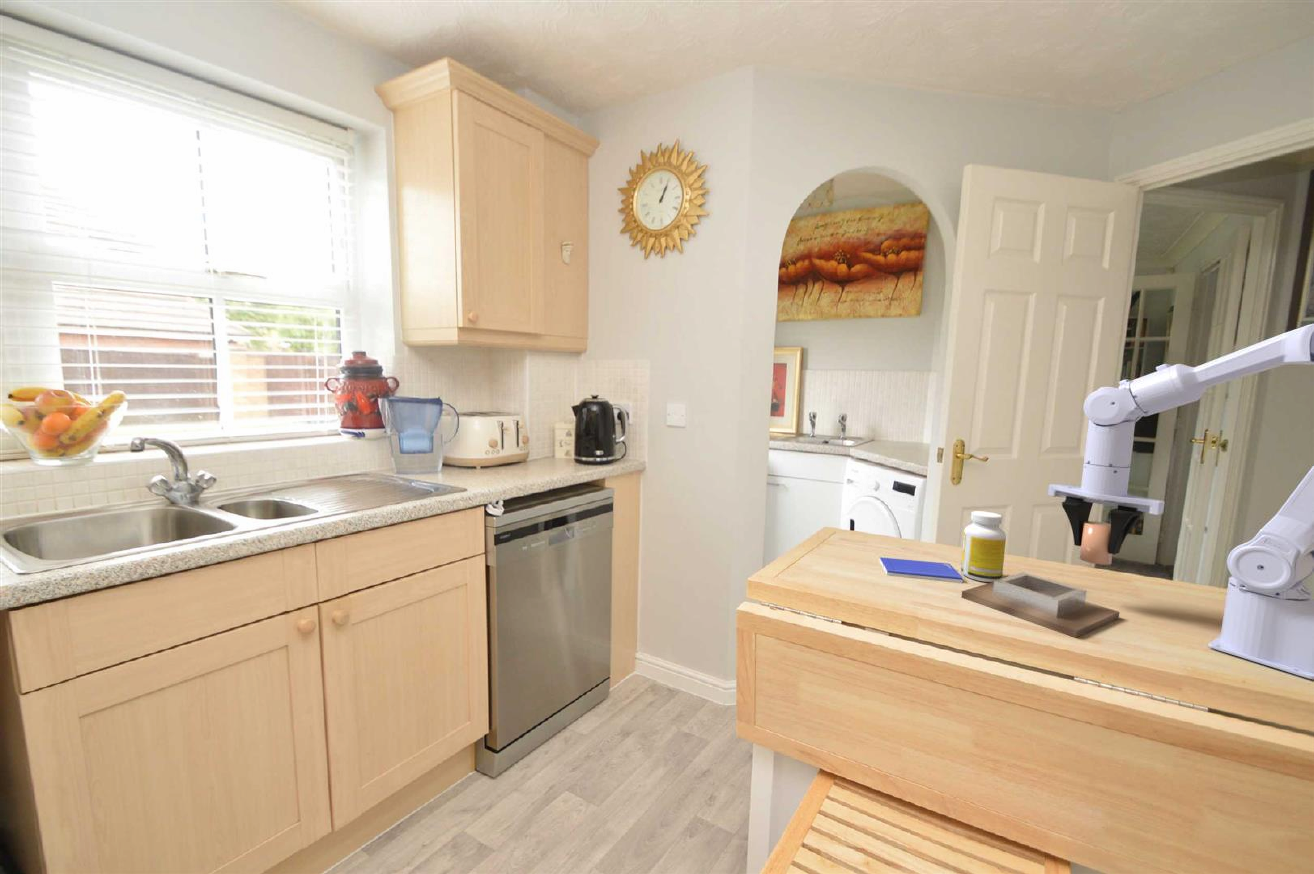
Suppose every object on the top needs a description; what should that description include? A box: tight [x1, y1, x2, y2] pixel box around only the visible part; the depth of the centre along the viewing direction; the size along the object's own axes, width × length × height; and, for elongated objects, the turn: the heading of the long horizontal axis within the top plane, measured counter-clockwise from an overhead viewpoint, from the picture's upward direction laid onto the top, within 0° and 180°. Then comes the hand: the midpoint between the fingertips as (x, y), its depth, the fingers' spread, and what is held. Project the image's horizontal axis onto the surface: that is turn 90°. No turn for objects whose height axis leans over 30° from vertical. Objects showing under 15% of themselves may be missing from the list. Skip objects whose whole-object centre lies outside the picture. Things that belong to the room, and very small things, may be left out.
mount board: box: [961, 582, 1120, 639], centre depth 87 cm, size 16×14×1 cm
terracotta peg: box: [1078, 520, 1113, 566], centre depth 88 cm, size 4×4×6 cm
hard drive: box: [878, 557, 964, 584], centre depth 102 cm, size 2×8×12 cm
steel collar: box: [993, 572, 1087, 618], centre depth 87 cm, size 9×9×2 cm
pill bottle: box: [960, 510, 1007, 583], centre depth 99 cm, size 6×6×12 cm
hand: (1096, 548), depth 89 cm, fingers closed on terracotta peg, 4 cm apart
